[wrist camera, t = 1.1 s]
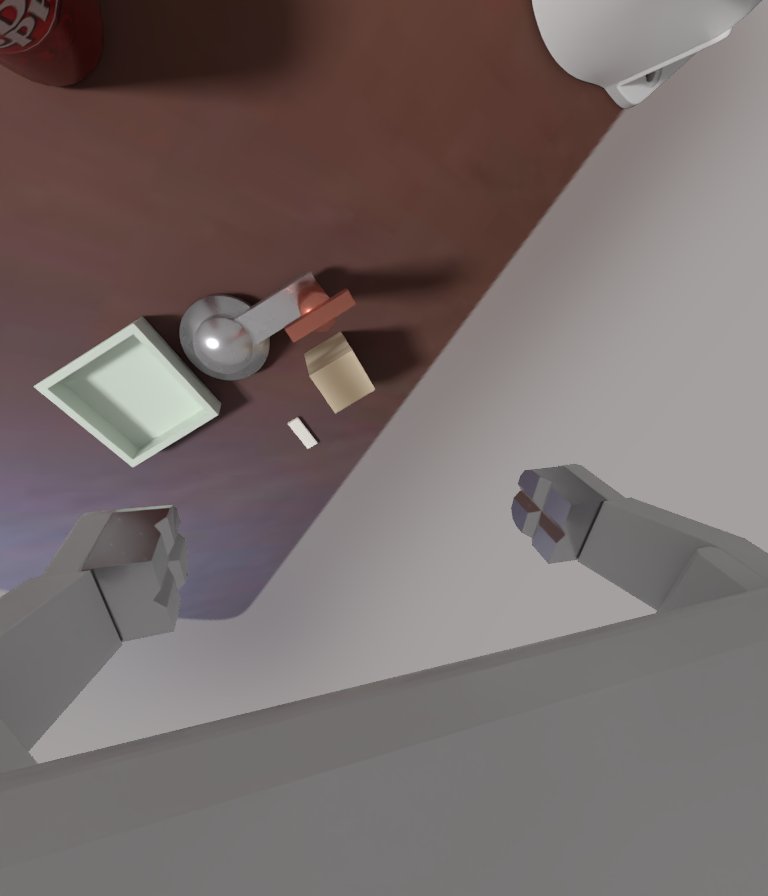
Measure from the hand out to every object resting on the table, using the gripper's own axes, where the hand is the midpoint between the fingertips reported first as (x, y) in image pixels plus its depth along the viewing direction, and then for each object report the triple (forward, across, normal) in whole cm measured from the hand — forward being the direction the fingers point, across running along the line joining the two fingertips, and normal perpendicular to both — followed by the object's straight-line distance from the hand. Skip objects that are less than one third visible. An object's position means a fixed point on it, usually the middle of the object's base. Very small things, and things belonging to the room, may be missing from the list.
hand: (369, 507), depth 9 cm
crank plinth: (+28, +6, +3) cm, 29 cm away
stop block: (+28, -4, +5) cm, 29 cm away
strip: (+28, 0, +12) cm, 31 cm away
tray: (+29, +13, +8) cm, 33 cm away
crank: (+27, +2, +1) cm, 27 cm away
